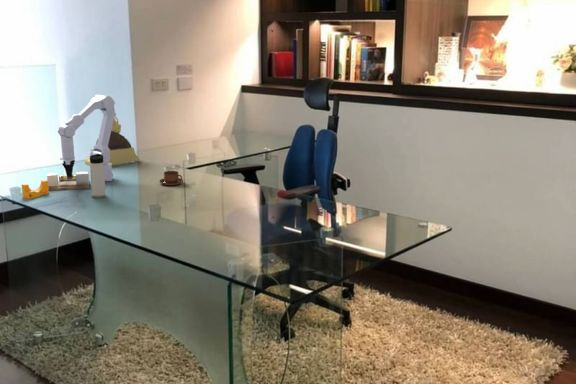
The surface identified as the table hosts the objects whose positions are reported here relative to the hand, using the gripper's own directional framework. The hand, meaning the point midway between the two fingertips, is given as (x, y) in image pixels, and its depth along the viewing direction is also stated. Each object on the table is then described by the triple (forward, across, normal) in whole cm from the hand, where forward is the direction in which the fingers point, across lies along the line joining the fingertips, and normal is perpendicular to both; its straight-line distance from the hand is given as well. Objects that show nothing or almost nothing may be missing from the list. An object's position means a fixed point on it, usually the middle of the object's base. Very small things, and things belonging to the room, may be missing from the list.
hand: (69, 175), depth 323 cm
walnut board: (+5, 0, -2) cm, 6 cm away
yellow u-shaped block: (+6, +15, -14) cm, 22 cm away
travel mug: (+6, +22, +14) cm, 27 cm away
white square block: (+5, 0, -8) cm, 10 cm away
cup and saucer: (+6, +5, +50) cm, 50 cm away
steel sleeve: (+5, 0, +6) cm, 8 cm away
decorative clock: (+6, -51, +21) cm, 55 cm away
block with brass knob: (+3, 0, +2) cm, 3 cm away
